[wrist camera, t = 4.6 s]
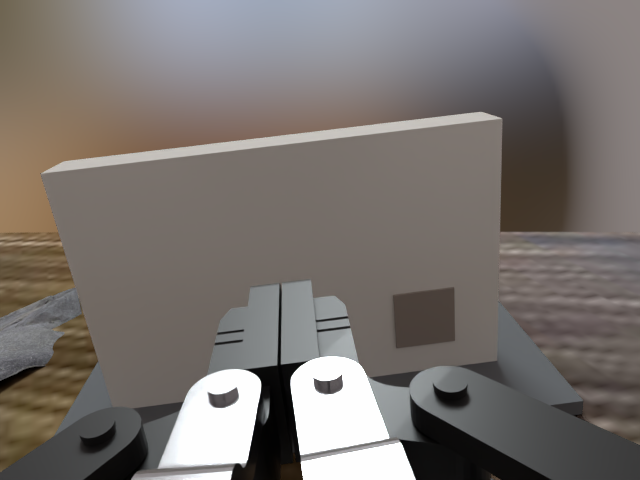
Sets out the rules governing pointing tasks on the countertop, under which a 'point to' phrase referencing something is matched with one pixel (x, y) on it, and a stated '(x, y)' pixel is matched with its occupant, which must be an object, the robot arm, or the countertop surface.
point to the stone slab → (34, 332)
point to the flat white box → (287, 245)
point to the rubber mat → (403, 378)
